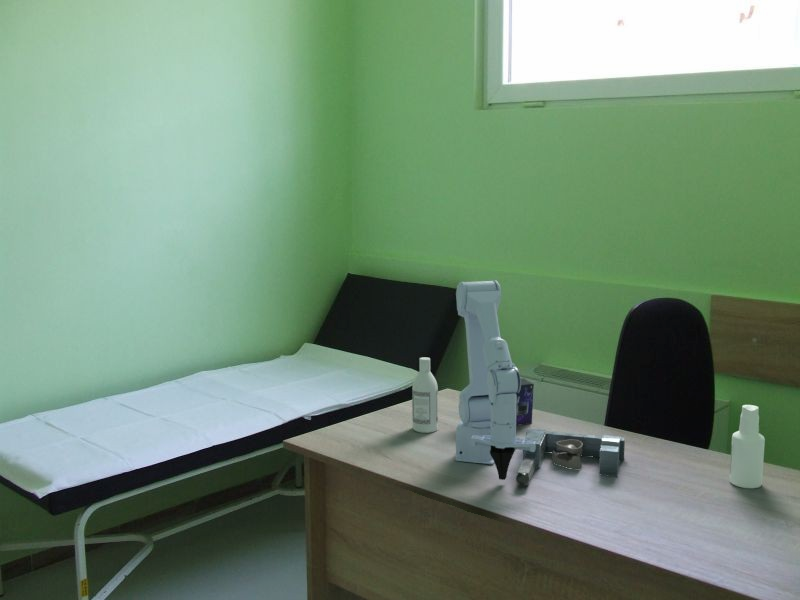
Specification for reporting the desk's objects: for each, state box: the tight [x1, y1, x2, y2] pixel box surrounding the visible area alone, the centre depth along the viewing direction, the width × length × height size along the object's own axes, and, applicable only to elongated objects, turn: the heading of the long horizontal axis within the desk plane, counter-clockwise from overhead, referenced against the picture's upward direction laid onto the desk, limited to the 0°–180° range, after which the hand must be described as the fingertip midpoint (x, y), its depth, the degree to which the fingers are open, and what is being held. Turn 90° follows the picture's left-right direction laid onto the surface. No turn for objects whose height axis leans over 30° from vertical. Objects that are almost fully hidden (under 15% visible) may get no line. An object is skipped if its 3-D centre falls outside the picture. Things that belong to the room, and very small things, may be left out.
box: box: [470, 377, 535, 426], centre depth 229 cm, size 17×7×12 cm, turn 111°
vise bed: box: [525, 428, 626, 477], centre depth 201 cm, size 24×13×7 cm, turn 72°
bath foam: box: [411, 356, 439, 434], centre depth 225 cm, size 7×7×20 cm
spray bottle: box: [729, 404, 766, 489], centre depth 186 cm, size 7×7×18 cm
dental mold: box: [551, 439, 583, 470], centre depth 200 cm, size 8×7×5 cm
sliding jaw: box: [515, 428, 547, 487], centre depth 196 cm, size 4×24×6 cm, turn 163°
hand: (502, 478), depth 188 cm, fingers closed
